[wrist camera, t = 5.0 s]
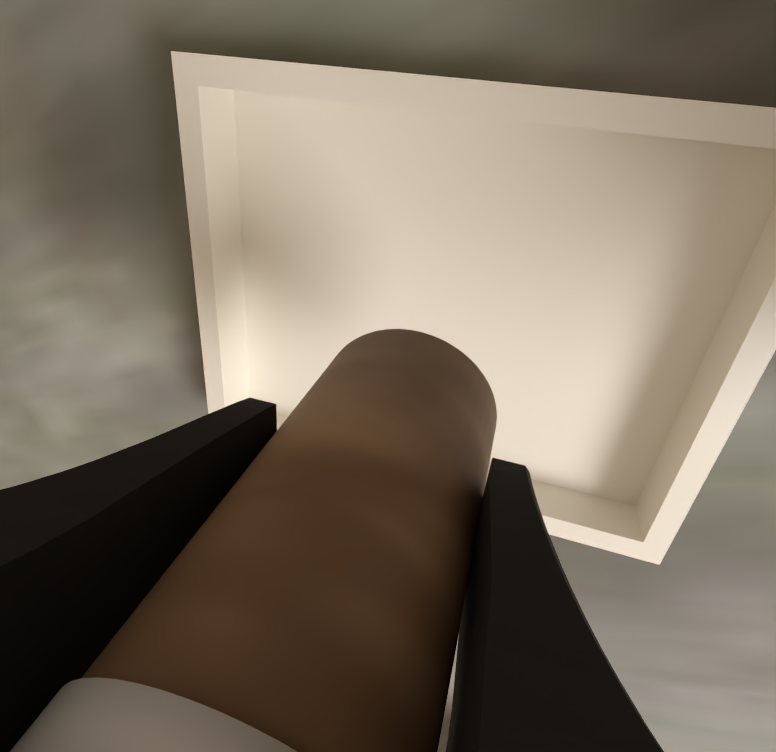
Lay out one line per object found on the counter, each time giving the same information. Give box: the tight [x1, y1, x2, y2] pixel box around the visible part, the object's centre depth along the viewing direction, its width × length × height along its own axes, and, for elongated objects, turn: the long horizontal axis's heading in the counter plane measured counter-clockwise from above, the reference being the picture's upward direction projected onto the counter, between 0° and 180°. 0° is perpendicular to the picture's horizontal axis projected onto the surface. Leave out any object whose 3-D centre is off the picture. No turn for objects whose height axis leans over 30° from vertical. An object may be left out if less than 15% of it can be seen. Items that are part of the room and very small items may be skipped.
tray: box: [171, 51, 776, 565], centre depth 17 cm, size 18×14×2 cm
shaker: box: [10, 329, 497, 752], centre depth 8 cm, size 5×5×9 cm
